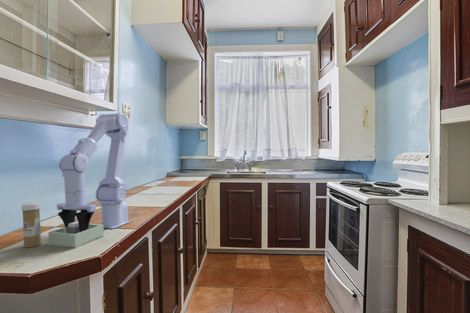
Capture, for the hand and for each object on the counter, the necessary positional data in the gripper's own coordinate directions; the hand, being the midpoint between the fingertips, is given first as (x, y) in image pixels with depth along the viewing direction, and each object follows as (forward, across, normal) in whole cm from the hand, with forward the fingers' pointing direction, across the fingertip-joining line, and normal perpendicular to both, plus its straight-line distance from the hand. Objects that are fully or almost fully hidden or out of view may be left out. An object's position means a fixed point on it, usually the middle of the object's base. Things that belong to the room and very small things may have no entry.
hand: (77, 232), depth 88 cm
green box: (+3, 0, 0) cm, 3 cm away
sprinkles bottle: (+3, -10, -7) cm, 13 cm away
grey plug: (+2, 0, -1) cm, 2 cm away
